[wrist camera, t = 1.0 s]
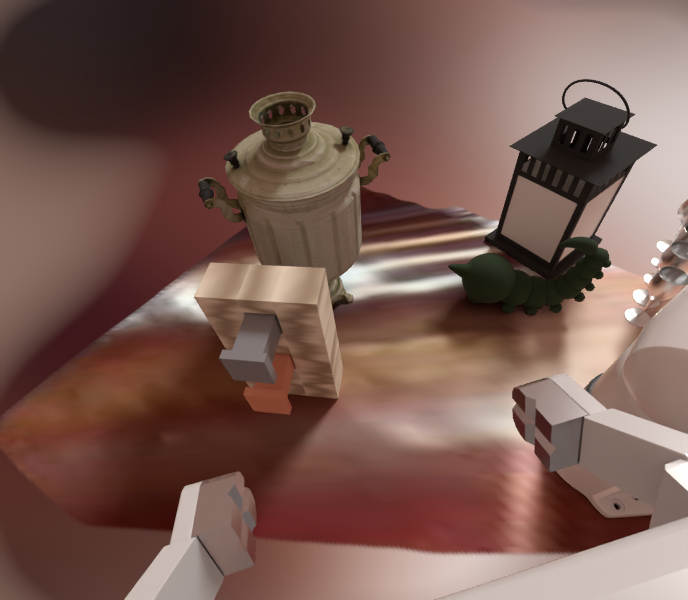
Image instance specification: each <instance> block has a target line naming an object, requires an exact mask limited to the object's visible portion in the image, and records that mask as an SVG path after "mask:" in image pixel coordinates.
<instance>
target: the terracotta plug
mask: <svg viewBox="0 0 688 600" xmlns="http://www.w3.org/2000/svg"><path fill="white" fill-rule="evenodd" d="M272 365H273V367H274V369H275V372H276V374H277V379H276V382H275V384H269V383H259V382H255V384H254V387H246V388H245V391H244V394H243V395H244V397H245V398H246V400H247V401H248V403H249V404H250V406H251V407H252V409H253V410H254V411H259V412H269V413H278V414H287V415H290V413H291V409H292V406H291V404H290V402H289V400H288V398H287V397H288V393H289V389H290V385H291V381H292V376H293V372H294V368H295V363H294V361H293V358H292V355H291V354H280V353H275V356H274V360H273V363H272Z"/></svg>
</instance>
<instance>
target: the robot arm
mask: <svg viewBox="0 0 688 600" xmlns="http://www.w3.org/2000/svg"><path fill="white" fill-rule="evenodd" d="M512 398H513V399H514V401H515V402H516V405H515V406H514V408H513V409H512V410H513V419H514V422H515V425H516V428H517V430H518V431H519V433H520V435H521V436H522V437H523V439H524V440H525V441H527V442H529V443H531V444H533V445H535V454H536V456H537V457H538V458H539V459H540V461H541V462H542V463H543V465H544V466H545V467H546V468H547V470H548V471H549V472H553V471H556V472H557V473H558V474H559V475H560V476H561V477H562V478H563V479H564V480H565V481H566V482H567V483H568V484H570V485H571V486H572V487H574V488H575V489H577V490H578V491H579V492H581V493H582V494H583V495H585V496H586V497H587V498H588V499H589V501H590V502H591V503H592V505H593V506H594V507H595V508H596V509H597V510H598V511H599V512H600V513H601V514H602V515H603V516H605V517H607V518H619V517H633V516H646V515H652V517H651V521H650V526H649V530H646V531H643V532H639V533H636V534H633V535H630V536H627V537H624V538H621V539H618V540H615V541H612V542H609V543H606V544H603V545H600V546H597V547H594V548H591V549H588V550H585V551H582V552H579V553H576V554H573V555H569V556H566V557H563V558H560V559H557V560H555V561H551V562H548V563H545V564H542V565H539V566H536V567H533V568H530V569H527V570H524V571H521V572H518V573H515V574H512V575H509V576H506V577H503V578H499V579H497V580H493V581H490V582H487V583H485V584H481V585H478V586H475V587H472V588H469V589H466V590H463V591H460V592H457V593H454V594H451V595H448V596H445V597H442V598H438V599H436V600H688V282H687V283H686V284H685V285H684V286H683V287H682V289H681V290H680V292H678V293H677V294H676V295H675V296H674V297H673V298H672V299H671V300H670V301H669V302H668V303H667V304H666V305H665V306H664V307H663V308H662V309H661V310H660V311H658V312H657V313H656V314H655V315H654V316H653V317H652V318H651V319H650V320H649V321H648V322H647V323H646V324H645V326H644V327H643V329H642V330H641V332H640V334H639V336H638V337H637V338H636V339H635V340H634V341H633V342H632V343H631V344H630V345H629V346H628V347H627V348H626V349H625V350H624V352H623V353H622V354H621V355H620V356H619V357H618V358H617V359H616V360H615V361H614V362H613V364H612V365H611V366H610V367H609V368H608V369H607V370H606V371H605V372H604V373H602V374H600V375H598V376H597V377H595V378H594V379H592V380H591V381H590V382H589V384H588V385H587V386H586V387H585V388H582V387H581V386H580V385H579V384H578V383H577V382H576V381H574V380H573V379H572V378H571V377H570V376H569V375H568V374H565V373H560V374H557V375H553V376H550V377H547V378H543V379H540V380H537V381H534V382H530V383H527V384H524V385H521V386H518V387H515V388H514V389H513V391H512ZM614 504H616V505H617V506H618V510H617V509H616V508H615V507H614ZM255 525H256V507H255V501H254V498H253V495H252V493H251V491H250V489H248V488H246V487H244V478H243V476H242V474H241V472H240V471H237V472H233V473H230V474H226V475H222V476H219V477H215V478H211V479H208V480H204V481H201V482H198V483H194V484H191V485H187V486H185V487H184V489H183V490H182V492H181V496H180V501H179V505H178V509H177V514H176V518H175V523H174V527H173V531H172V536H171V540H170V545H167V546H164V547H163V549H162V550H161V551H160V553H159V554H158V555H157V557H156V558H155V559H154V561H153V562H152V563H151V565H150V566H149V567H148V569H147V570H146V571H145V573H144V574H143V576H142V577H141V578H140V579H139V581H138V582H137V583H136V585H135V586H134V587H133V589H132V590H131V592H130V593H129V594H128V595H127V597H126V598H125V599H124V600H214V598H215V596H216V594H217V592H218V590H219V588H220V586H221V584H222V582H223V580H224V577H223V576H225V575H228V574H231V573H234V572H237V571H240V570H242V569H245V568H248V567H251V566H254V565H255V551H256V539H255V538H254V536H253V534H252V530H253V529H254V527H255Z"/></svg>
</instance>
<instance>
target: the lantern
mask: <svg viewBox="0 0 688 600" xmlns="http://www.w3.org/2000/svg"><path fill="white" fill-rule="evenodd" d="M585 81H587V82H594V83H598V84H601V85H604V86H606V87H608V88H610V89H611V90H613V91H614V92H615V93H617V94H618V95H619V96H620V97H621V99H622V100H623V102H624V104H625V106H626V109H627V111H624V110H621V109H618V108H615V107H612V106H609V105H606V104H603V103H600V102H597V101H594V100H591V99H588V98H584V99H582V100H581V101H579V102H577V103H576V104H574V105H572V106H570V107H569V108H567V107H566V105H565V102H564V97H565V93H566V91H567V90H568V88H569V87H570V86H571V85H573V84H575V83H578V82H585ZM562 103H563V106H564V108H565V110H564V111H562V112H560V113H558V114H557V115H555V116H556V117H557V118H556V119H554V120H553V121H551V122H549V123H548V124H546V125H544V126H542V127H541V128H539V129H538V130H536V131H534V132H532V133H531V134H529V135H527V136H526V137H524V138H522V139H521V140H519V141H517V142H516V143H514V144H513V145H511V146H510V147H512V148H514V149H516V150H519V151H520V153H519V156H518V159H517V163H516V166H515V170H514V173H513V177H512V180H511V183H510V187H509V191H508V194H507V197H506V201H505V204H504V207H503V211H502V214H501V218H500V221H499V225H498V228H497V229H495V230H494V231H493V232H491V233H490V234H488V235H487V236H486V237H485V240H486V241H487V242H489V243H490V244H492V245H493V246H495V247H497V248H498V249H500V250H501V251H503V252H505V253H506V254H508V255H509V256H511V257H512V258H514V259H516V260H517V261H519V262H520V263H522V264H524V265H525V266H527V267H528V268H530V269H531V270H533V271H535V272H536V273H538V274H539V275H541V276H543V277H544V278H546V279H556V278H558V277H559V276H560V275H562V274H563V273H564V272H565V271H566V270H568V269H569V268H570V267H571V266H573V265H574V264H575V263H576V262H577V261H578V260H579V259H580V258H582V257H584V256H585V255H586V254H584V253H582V252H581V251H580V250H578V249H574V248H559V244H560V243H562V242H563V241H565V240H567V239H570V238H573V237H588V238H590V239H593V240H594V241H596V243H597V244H599V243H600V242H601V241H602V239H601V238H599V237H597V236H596V235H595V233H596V231H597V230H598V228H599V226H600V224H601V222H602V220H603V219H604V217H605V215H606V213H607V211H608V210H609V208H610V206H611V204H612V202H613V201H614V199H615V197H616V195H617V193H618V192H619V190H620V188H621V186H622V184H623V183H624V181H625V179H626V177H627V175H628V174H629V172H630V170H631V168H632V166H633V165H634V163H635V161H636V160H638V159H639V158H640V157H642V156H643V155H644V154H646V153H647V152H649V151H650V150H651V149H653V148H654V147H655V146H657V145H656V144H653V143H651V142H648V141H645V140H642V139H639V138H637V137H634V136H631V135H629V134H626V133H623V132H620V131H621V129H623V128H625V126H626V125H627V124H628V122H629V119H630V118H631V117H632V116H634V115H635V114H633V113H630V110H629V107H628V104H627V102H626V100H625V98H624V97H623V96H622V95H621V94H620V93H619V92H618V91H617V90H616V89H615V88H613V87H611V86H609V85H608V84H605V83H603V82H600V81H596V80H589V79H583V80H577V81H574V82H573V83H571V84H570V85H568V86H567V88H566V89H565V91H564V93H563V96H562ZM625 121H626V123H625ZM624 123H625V125H624ZM623 125H624V126H623ZM575 131H577V132H576V134H575V137H574V139H573V142H572V143H570V142H571V140H572V137H573V134H574V132H575ZM591 139H592V140H591ZM590 141H591V143H590ZM602 142H603V143H602ZM589 143H590V145H589ZM605 143H607V145H606V147H605V148H603V147H604V145H605ZM601 144H602V146H601ZM588 145H589V148H588ZM600 146H601V148H600ZM587 148H588V150H587ZM599 148H600V150H599ZM598 150H599V152H598ZM529 156H531V158H530V159H529V160H528V157H529Z"/></svg>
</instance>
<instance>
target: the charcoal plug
mask: <svg viewBox="0 0 688 600" xmlns="http://www.w3.org/2000/svg"><path fill="white" fill-rule="evenodd" d="M281 332H282V328H281V326H280V323H279V320H278V318H277V315H275V314H260V313H245V316H244V319H243V322H242V324H241V327H240V330H239V332H238V335H237V338H236V341H235V343H234V346H233V349H232V350H222V352H221V355H220V357H219V359H220V360H221V362H222V363H223V365H224V366H225V368H226V369H227V371H228V372H229V374H230V376H231V377H232V379H233V380H238V381H248V382H259V383H269V384H275V382H276V379H277V374H276V372H275V369H274V367H273V365H272V363H273V360H274V356H275V353H276V349H277V346H278V342H279V339H280V335H281Z"/></svg>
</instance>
